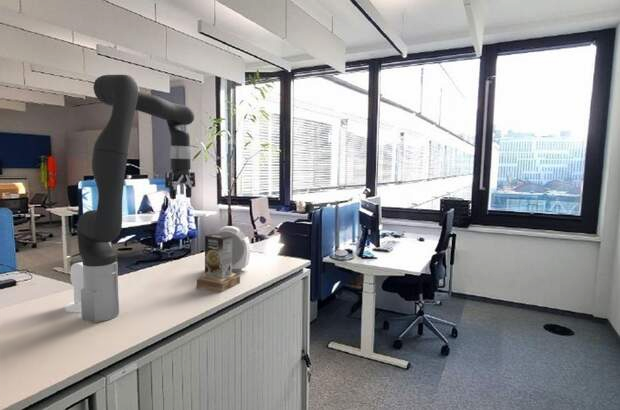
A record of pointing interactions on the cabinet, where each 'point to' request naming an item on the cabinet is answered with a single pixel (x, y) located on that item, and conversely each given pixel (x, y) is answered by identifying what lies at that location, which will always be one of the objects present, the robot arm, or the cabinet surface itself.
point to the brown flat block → (218, 282)
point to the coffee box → (218, 255)
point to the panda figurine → (76, 285)
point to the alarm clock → (237, 247)
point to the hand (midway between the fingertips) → (181, 198)
